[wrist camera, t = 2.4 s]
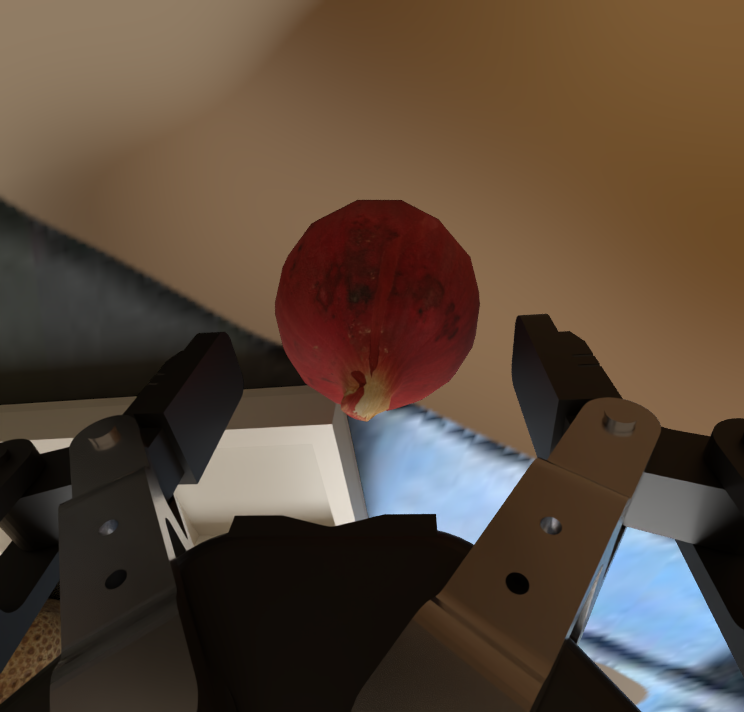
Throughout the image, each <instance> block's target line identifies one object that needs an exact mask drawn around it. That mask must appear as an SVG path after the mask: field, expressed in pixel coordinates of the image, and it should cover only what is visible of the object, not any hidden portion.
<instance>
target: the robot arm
mask: <svg viewBox="0 0 744 712" xmlns="http://www.w3.org/2000/svg"><path fill="white" fill-rule="evenodd" d="M512 381H513V386H514V389H515V392H516V395H517V398H518V401H519V404H520V407H521V410H522V413H523V416H524V419H525V422H526V425H527V428H528V431H529V434H530V437H531V440H532V443H533V445H534V449H535V452H536V455H537V458H536V459H535V460H534V461H533V463H532V464H531V465H530V467H529V468H528V469H527V471H526V472H525V474H524V475H523V476H522V478H521V479H520V481H519V482H518V484H517V485H516V486H515V488H514V489H513V491H512V492H511V493H510V495H509V496H508V498H507V499H506V501H505V502H504V503H503V505H502V506H501V508H500V509H499V510H498V512H497V513H496V515H495V516H494V518H493V519H492V520H491V522H490V523H489V525H488V526H487V527H486V529H485V530H484V532H483V533H482V535H481V536H480V537H479V539H478V540H477V542H476V543H475V544H474V545H473V544H472V543H470V542H468V541H466V540H464V539H462V538H460V537H457V536H454V535H452V534H449V533H446V532H442V531H438V530H437V522H436V514H384V515H380V516H376V517H372V518H367V519H363V520H359V521H355V522H350V523H346V524H342V525H338V526H324V525H320V524H316V523H312V522H308V521H304V520H300V519H296V518H291V517H287V516H283V515H248V516H234V519H233V522H232V524H231V527H230V529H229V532H228V533H224V534H221V535H219V536H216V537H213V538H210V539H208V540H206V541H204V542H202V543H199V544H198V545H196V546H193V543H192V540H191V537H190V534H189V531H188V528H187V525H186V522H185V519H184V516H183V513H182V510H181V507H180V505H179V502H178V499H177V497H176V495H175V493H174V491H175V489H176V488H177V486H178V485H186V484H198V483H199V481H200V479H201V477H202V475H203V473H204V471H205V469H206V467H207V465H208V463H209V461H210V459H211V457H212V455H213V453H214V451H215V449H216V447H217V445H218V443H219V441H220V439H221V437H222V435H223V433H224V431H225V429H226V427H227V425H228V423H229V421H230V419H231V417H232V415H233V413H234V411H235V409H236V407H237V406H238V404H239V402H240V400H241V397H242V395H243V389H244V382H243V376H242V373H241V370H240V367H239V364H238V361H237V358H236V355H235V352H234V348H233V345H232V342H231V339H230V337H229V335H228V334H227V333H226V332H210V333H198V334H197V335H196V336H195V337H194V338H193V339H192V341H191V342H190V343H189V344H188V346H187V347H186V348H185V349H184V351H181V352H179V353H178V354H176V355H175V356H173V357H172V358H171V359H169V360H168V361H166V362H165V364H164V365H163V366H162V367H161V368H160V370H159V371H158V372H157V375H155V376H154V377H153V378H152V379H151V380H150V382H149V385H146V387H145V388H144V389H143V390H142V391H141V393H140V394H139V395H138V396H137V397H136V399H135V400H134V401H133V402H132V403H131V405H130V406H129V407H128V408H127V410H126V411H125V412H124V413H123V414H122V415H115V416H110V417H107V418H104V419H101V420H99V421H96V422H94V423H92V424H91V425H89V426H87V427H86V428H84V429H83V430H82V431H80V432H79V433H78V434H77V435H76V436H75V438H74V439H73V440H72V442H71V444H70V446H69V447H66V448H62V449H58V450H54V451H50V452H46V453H42V454H40V453H39V452H38V450H37V449H36V447H35V446H34V445H33V443H32V442H31V441H30V440H27V439H12V440H8V441H4V442H1V443H0V528H1V529H2V530H3V531H4V532H5V533H6V534H7V535H8V536H9V537H10V538H11V540H12V541H11V543H10V544H9V545H8V546H7V548H6V549H5V550H4V552H3V553H2V554H1V555H0V674H1V673H2V671H3V669H4V668H5V666H6V665H7V663H8V661H9V660H10V658H11V657H12V655H13V653H14V652H15V650H16V649H17V647H18V645H19V644H20V642H21V641H22V639H23V637H24V636H25V634H26V633H27V631H28V629H29V628H30V626H31V625H32V623H33V621H34V620H35V618H36V617H37V615H38V613H39V612H40V610H41V609H42V607H43V605H44V604H45V602H46V601H47V599H48V597H49V596H50V594H51V593H52V591H53V589H54V588H55V586H56V585H57V583H58V581H59V580H60V614H61V654H60V655H59V656H58V657H56V658H55V659H54V660H53V661H52V662H50V663H49V664H48V665H47V666H46V667H44V668H43V669H42V670H41V671H40V672H38V673H37V674H36V675H35V676H34V677H32V678H31V679H30V680H29V681H28V682H26V683H25V684H24V685H23V686H22V687H20V688H19V689H18V690H17V691H16V692H14V693H13V694H12V695H11V696H9V697H8V698H7V699H6V700H5V701H3V702H2V703H1V704H0V712H641V711H640V710H639V709H638V708H637V707H636V706H635V704H634V703H633V702H632V701H631V700H630V699H629V698H628V697H627V696H626V695H625V694H624V693H623V692H622V691H621V690H620V689H619V688H618V687H617V686H616V685H615V684H614V683H613V682H612V681H611V680H610V679H609V677H608V676H607V675H606V674H605V673H604V672H603V671H602V670H601V669H600V668H599V667H598V666H597V665H596V664H595V663H594V662H593V661H592V660H591V659H590V658H589V657H588V656H587V655H586V654H585V653H584V652H583V650H582V649H581V648H580V647H579V646H578V644H579V641H580V639H581V637H582V634H583V632H584V629H585V627H586V624H587V622H588V619H589V617H590V614H591V612H592V609H593V607H594V604H595V601H596V599H597V596H598V594H599V592H600V589H601V587H602V584H603V582H604V580H605V578H606V575H607V573H608V571H609V568H610V566H611V564H612V561H613V559H614V557H615V554H616V552H617V550H618V547H619V545H620V543H621V540H622V538H623V536H624V533H625V531H626V529H627V527H631V528H634V529H638V530H642V531H646V532H650V533H654V534H657V535H661V536H665V537H669V538H673V539H675V541H676V543H677V545H678V547H679V549H680V551H681V553H682V555H683V557H684V559H685V561H686V563H687V565H688V567H689V569H690V571H691V573H692V575H693V577H694V579H695V581H696V583H697V585H698V587H699V589H700V591H701V593H702V595H703V597H704V599H705V601H706V603H707V605H708V607H709V609H710V611H711V613H712V615H713V617H714V619H715V621H716V623H717V625H718V627H719V629H720V631H721V633H722V635H723V637H724V639H725V641H726V643H727V645H728V647H729V649H730V651H731V653H732V655H733V657H734V659H735V661H736V663H737V665H738V667H739V669H740V671H741V673H742V675H743V677H744V419H741V418H736V419H727V420H724V421H721V422H719V423H718V424H717V425H716V426H715V427H714V429H713V431H712V434H711V436H704V435H699V434H694V433H688V432H682V431H676V430H671V429H667V428H664V427H661V425H660V422H659V421H658V419H657V417H656V416H655V415H654V414H653V413H652V412H650V411H649V410H648V409H646V408H644V407H643V406H641V405H639V404H637V403H634V402H631V401H628V400H624V399H623V398H622V397H621V395H620V394H619V392H618V391H617V389H616V388H615V386H614V385H613V383H612V382H611V380H610V379H609V377H608V376H607V374H606V373H605V371H604V370H603V368H602V367H601V366H600V365H599V362H598V360H597V359H596V357H595V356H593V353H592V351H591V350H590V348H589V347H588V345H587V344H586V342H585V341H584V340H582V339H580V338H579V337H578V336H576V335H575V334H573V333H571V332H570V331H567V332H566V331H565V332H558V330H557V328H556V327H555V325H554V323H553V322H552V320H551V318H550V316H549V315H548V314H536V315H520V316H517V319H516V323H515V333H514V344H513V355H512Z"/></svg>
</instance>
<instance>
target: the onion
mask: <svg viewBox="0 0 744 712" xmlns="http://www.w3.org/2000/svg"><path fill="white" fill-rule="evenodd" d="M479 306H480V302H479V291H478V286H477V282H476V278H475V274H474V270H473V266H472V262H471V258H470V256H469V255H468V254H467V253H466V252H465V250H464V249H463V248H462V247H461V246H460V245H459V243H458V242H457V241H456V240H455V239H454V237H453V236H452V235H451V234H450V233H449V231H448V230H447V229H446V228H445V227H444V225H443V224H442V223H441V222H440V221H439V219H437V218H435V217H433V216H431V215H429V214H427V213H425V212H423V211H421V210H419V209H417V208H415V207H413V206H412V205H410V204H408V203H406V202H404V201H402V200H356V201H355V202H352V203H350V204H349V205H347V206H345V207H343V208H341V209H339V210H337V211H335V212H333V213H331V214H329V215H327V216H325V217H323V218H321V219H319V220H317V221H315V222H314V223H312V224H311V225H310V226H309V228H308V229H307V230H306V232H305V233H304V235H303V236H302V237H301V239H300V240H299V241H298V243H297V244H296V246H295V247H294V248H293V250H292V251H291V252H290V254H289V255H288V257H287V260H286V261H285V264H284V266H283V268H282V273H281V278H280V283H279V287H278V292H277V296H276V301H275V315H276V319H277V323H278V328H279V332H280V336H281V340H282V344H283V348H284V350H285V352H286V354H287V356H288V358H289V359H290V361H291V362H292V364H293V365H294V367H295V368H296V370H297V372H298V373H299V375H300V376H301V378H302V379H303V381H304V382H305V384H307V385H308V386H310V387H311V388H313V389H314V390H316V391H318V392H319V393H321V394H322V395H324V396H325V397H327V398H328V399H330V400H331V401H333V402H335V403H337V404H340V405H341V410H342V411H343V412H344V413H346V414H347V415H349V416H350V417H352V418H355V419H357V420H362V421H368V420H370V419H371V418H372V417H374V416H375V415H376V414H378V413H381V412H383V411H385V410H386V411H388V410H392V409H395V408H398V407H401V406H405V405H408V404H411V403H414V402H417V401H419V400H422V399H423V398H425V397H426V396H428V395H429V394H431V393H432V392H434V391H435V390H437V389H438V388H440V387H441V386H443V385H444V384H446V383H447V382H449V381H450V380H451V378H452V377H453V376H454V375H455V374H456V372H457V370H458V369H459V367H460V366H461V364H462V363H463V361H464V359H465V358H466V356H467V355H468V353H469V351H470V350H471V348H472V346H473V343H474V339H475V336H476V329H477V321H478V314H479Z"/></svg>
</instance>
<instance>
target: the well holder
mask: <svg viewBox="0 0 744 712" xmlns="http://www.w3.org/2000/svg"><path fill="white" fill-rule="evenodd" d="M136 397H137V396H134V397H119V398H103V399H87V400H72V401H56V402H41V403H25V404H10V405H0V443H1V442H4V441H8V440H12V439H27V440H30V441H31V442H32V443H33V445H34V446H35V447H36V449H37V450H38V452H39V453H40V454H42V453H46V452H50V451H54V450H58V449H62V448H66V447H69V446H70V444H71V442H72V440H73V439H74V438H75V436H76V435H77V434H78V433H79V432H80V431H82V430H83V429H84V428H86V427H87V426H89V425H91V424H92V423H94V422H96V421H99V420H101V419H104V418H107V417H110V416H115V415H122V414H123V413H124V412H125V411H126V410H127V408H128V407H129V406H130V405H131V403H132V402H133V401H134V400H135V399H136ZM174 493H175V495H176V497H177V499H178V502H179V505H180V507H181V510H182V513H183V516H184V519H185V522H186V525H187V528H188V531H189V534H190V537H191V540H192V543H193V546H196V545H198V544H199V543H202V542H204V541H206V540H208V539H210V538H213V537H216V536H219V535H221V534H224V533H228V532H229V529H230V527H231V524H232V522H233V519H234V516H248V515H283V516H287V517H291V518H296V519H300V520H304V521H308V522H312V523H316V524H320V525H324V526H338V525H342V524H346V523H350V522H355V521H359V520H363V519H367V518H368V514H367V509H366V505H365V500H364V495H363V490H362V486H361V481H360V476H359V471H358V467H357V462H356V457H355V452H354V447H353V443H352V438H351V433H350V428H349V424H348V419H347V414H346V413H344V412H343V411H342V410H341V405H340V404H337V403H335V402H333V401H331V400H330V399H328V398H327V397H325V396H324V395H322V394H321V393H319V392H318V391H316V390H314V389H313V388H311V387H310V386H308V385H305V386H290V387H274V388H258V389H243V395H242V397H241V400H240V402H239V404H238V406H237V407H236V409H235V411H234V413H233V415H232V417H231V419H230V421H229V423H228V425H227V427H226V429H225V431H224V433H223V435H222V437H221V439H220V441H219V443H218V445H217V447H216V449H215V451H214V453H213V455H212V457H211V459H210V461H209V463H208V465H207V467H206V469H205V471H204V473H203V475H202V477H201V479H200V481H199V483H198V484H186V485H178V486H177V488H176V489H175V491H174ZM11 541H12V540H11V538H10V537H9V536H8V535H7V534H6V533H5V532H4V531H3V530H2V529H1V528H0V555H1V554H2V553H3V552H4V550H5V549H6V548H7V546H8V545H9V544H10V543H11Z"/></svg>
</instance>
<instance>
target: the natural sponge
mask: <svg viewBox="0 0 744 712" xmlns="http://www.w3.org/2000/svg"><path fill="white" fill-rule="evenodd" d="M60 654H61V614H60V601H59V600H57V599H49V598H48V599H47V601H46V602H45V604H44V605H43V607H42V609H41V610H40V612H39V613H38V615H37V617H36V618H35V620H34V621H33V623H32V625H31V626H30V628H29V629H28V631H27V633H26V634H25V636H24V637H23V639H22V641H21V642H20V644H19V645H18V647H17V649H16V650H15V652H14V653H13V655H12V657H11V658H10V660H9V661H8V663H7V665H6V666H5V668H4V669H3V671H2V673H1V674H0V704H1V703H2V702H3V701H5V700H6V699H7V698H8V697H9V696H11V695H12V694H13V693H14V692H16V691H17V690H18V689H19V688H20V687H22V686H23V685H24V684H25V683H26V682H28V681H29V680H30V679H31V678H32V677H34V676H35V675H36V674H37V673H38V672H40V671H41V670H42V669H43V668H44V667H46V666H47V665H48V664H49V663H50V662H52V661H53V660H54V659H55V658H56V657H58V656H59V655H60Z"/></svg>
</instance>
